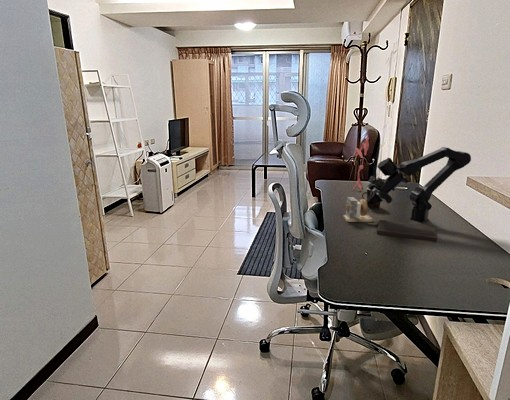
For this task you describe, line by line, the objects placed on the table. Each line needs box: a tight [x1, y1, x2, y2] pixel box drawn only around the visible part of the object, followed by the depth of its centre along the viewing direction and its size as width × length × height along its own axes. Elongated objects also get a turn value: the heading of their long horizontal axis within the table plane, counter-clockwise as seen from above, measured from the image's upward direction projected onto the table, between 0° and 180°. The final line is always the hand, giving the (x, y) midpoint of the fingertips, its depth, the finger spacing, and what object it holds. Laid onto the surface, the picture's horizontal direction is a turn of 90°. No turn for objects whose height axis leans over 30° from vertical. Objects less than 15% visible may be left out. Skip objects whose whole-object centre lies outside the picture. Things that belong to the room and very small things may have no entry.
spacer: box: [356, 201, 361, 218], centre depth 168 cm, size 2×7×7 cm, turn 2°
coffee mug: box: [361, 187, 382, 209], centre depth 191 cm, size 12×9×10 cm
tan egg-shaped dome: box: [345, 198, 369, 216], centre depth 168 cm, size 9×8×8 cm
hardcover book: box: [376, 219, 438, 243], centre depth 153 cm, size 16×23×2 cm
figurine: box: [352, 136, 370, 191], centre depth 229 cm, size 15×26×35 cm, turn 158°
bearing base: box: [342, 196, 374, 223], centre depth 168 cm, size 12×7×10 cm, turn 91°
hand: (365, 204), depth 168 cm, fingers closed, pressing on tan egg-shaped dome
